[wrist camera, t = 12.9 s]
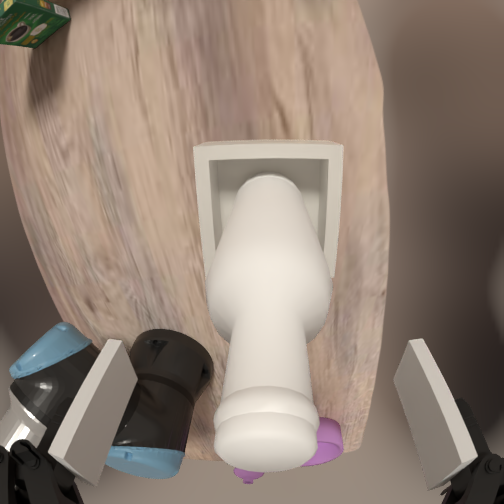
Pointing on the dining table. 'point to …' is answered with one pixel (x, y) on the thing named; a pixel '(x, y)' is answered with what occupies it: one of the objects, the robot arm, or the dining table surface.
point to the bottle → (268, 325)
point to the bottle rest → (264, 160)
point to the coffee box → (30, 21)
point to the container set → (327, 451)
